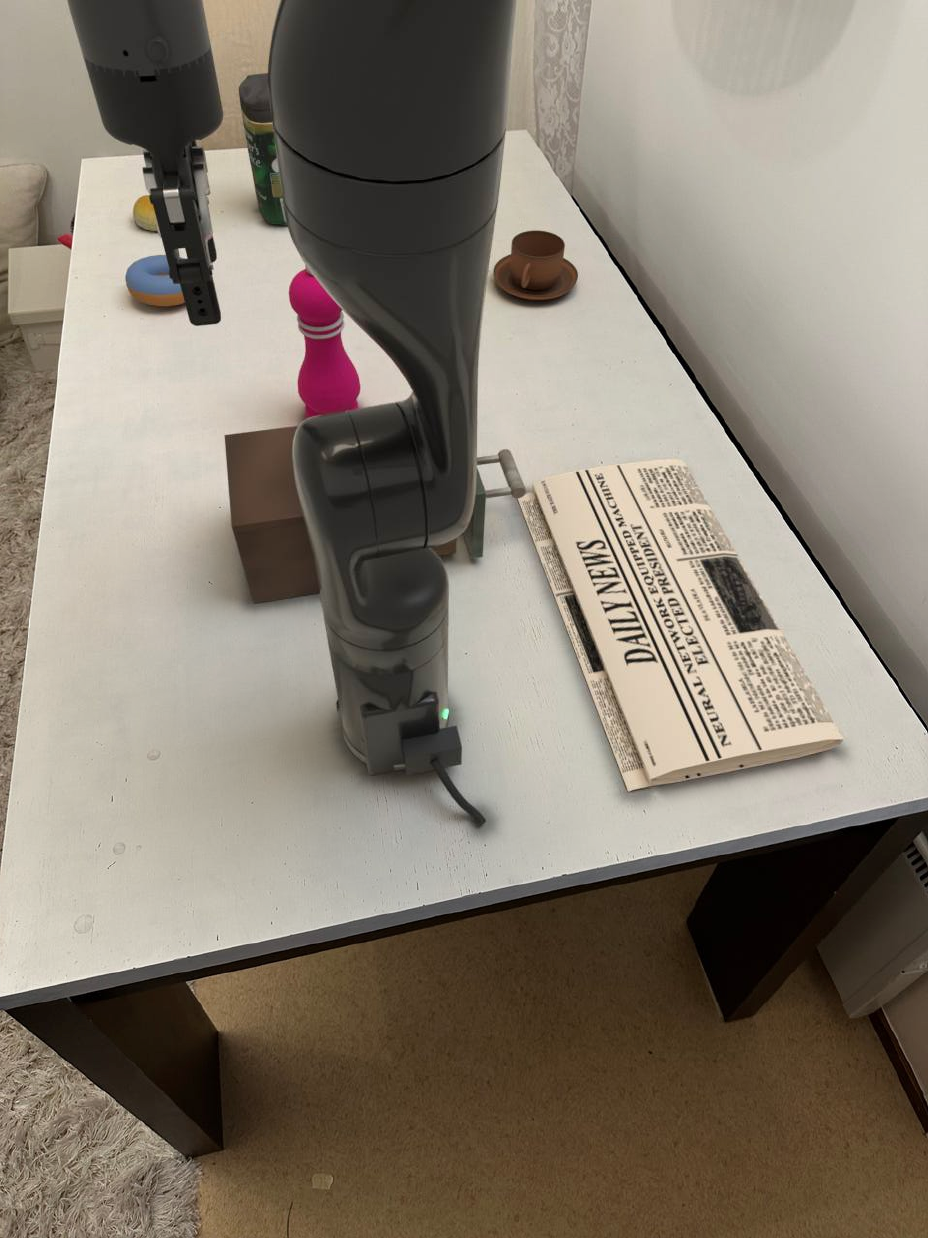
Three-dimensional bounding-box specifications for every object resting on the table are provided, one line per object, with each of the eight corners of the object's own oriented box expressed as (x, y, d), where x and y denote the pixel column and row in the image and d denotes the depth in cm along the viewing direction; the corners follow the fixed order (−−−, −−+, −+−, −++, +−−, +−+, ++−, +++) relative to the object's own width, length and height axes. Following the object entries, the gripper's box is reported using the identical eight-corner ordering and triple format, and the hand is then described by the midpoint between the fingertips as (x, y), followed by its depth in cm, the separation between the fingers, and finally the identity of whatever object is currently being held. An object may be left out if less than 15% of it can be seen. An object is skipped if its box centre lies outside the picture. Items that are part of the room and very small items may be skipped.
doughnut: (188, 269, 121) (181, 238, 118) (216, 302, 116) (209, 270, 113) (121, 288, 118) (110, 257, 114) (146, 323, 113) (136, 291, 109)
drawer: (501, 475, 94) (506, 410, 87) (529, 550, 87) (536, 485, 80) (335, 498, 91) (327, 433, 84) (350, 577, 84) (342, 513, 77)
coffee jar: (253, 202, 134) (230, 70, 120) (302, 195, 136) (285, 64, 122) (266, 230, 129) (244, 96, 114) (316, 223, 131) (301, 89, 116)
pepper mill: (353, 440, 99) (336, 280, 83) (294, 431, 100) (266, 271, 84) (370, 402, 103) (356, 244, 88) (313, 394, 104) (290, 236, 88)
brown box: (380, 495, 93) (374, 415, 85) (400, 580, 85) (396, 502, 77) (244, 514, 91) (224, 434, 82) (252, 603, 83) (231, 526, 75)
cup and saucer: (579, 309, 117) (584, 267, 112) (492, 306, 117) (494, 264, 112) (573, 264, 124) (579, 223, 120) (492, 262, 124) (494, 220, 120)
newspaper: (836, 750, 74) (848, 733, 72) (628, 792, 71) (633, 776, 69) (680, 473, 96) (685, 454, 94) (516, 496, 93) (518, 477, 91)
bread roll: (127, 217, 131) (120, 191, 128) (182, 202, 134) (176, 176, 131) (148, 239, 127) (141, 213, 123) (204, 223, 130) (198, 197, 127)
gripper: (87, 4, 54) (154, 247, 67) (72, 91, 46) (152, 350, 58) (206, -1, 55) (249, 239, 68) (213, 82, 47) (262, 339, 60)
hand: (204, 290), depth 63 cm, fingers open, 8 cm apart
